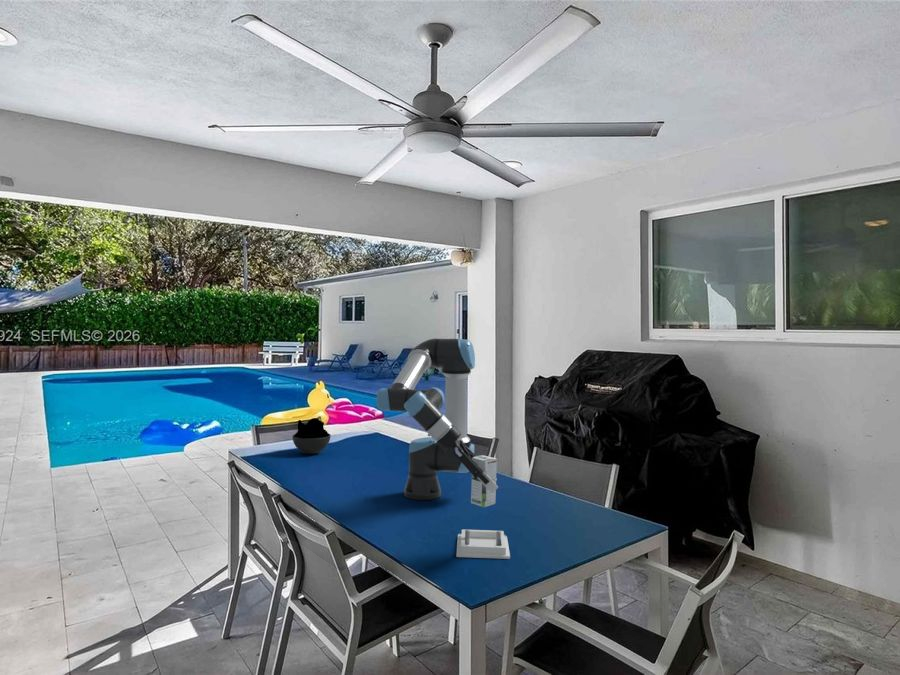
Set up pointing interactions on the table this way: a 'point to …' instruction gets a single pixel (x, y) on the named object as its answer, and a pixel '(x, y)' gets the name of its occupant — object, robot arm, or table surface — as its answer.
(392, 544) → the table surface
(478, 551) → the tray
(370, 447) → the table surface
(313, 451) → the coal bowl
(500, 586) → the table surface
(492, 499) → the syrup box
